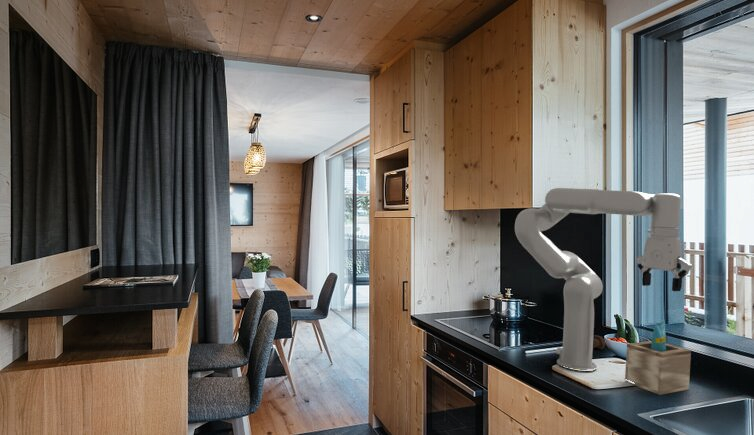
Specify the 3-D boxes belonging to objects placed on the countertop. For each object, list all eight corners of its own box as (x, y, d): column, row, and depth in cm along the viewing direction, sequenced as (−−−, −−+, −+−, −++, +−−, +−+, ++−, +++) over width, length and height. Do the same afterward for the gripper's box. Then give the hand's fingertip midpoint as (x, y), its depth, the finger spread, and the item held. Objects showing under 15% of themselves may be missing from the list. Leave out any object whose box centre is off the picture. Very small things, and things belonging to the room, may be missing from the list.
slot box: (624, 381, 152) (626, 343, 152) (653, 376, 158) (655, 340, 158) (660, 394, 142) (662, 354, 141) (688, 389, 147) (691, 350, 147)
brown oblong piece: (571, 356, 184) (597, 351, 190) (580, 353, 180) (607, 348, 186) (565, 341, 186) (591, 336, 193) (574, 337, 182) (601, 333, 189)
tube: (661, 387, 145) (665, 324, 145) (644, 383, 149) (648, 321, 148) (667, 382, 151) (671, 321, 151) (650, 377, 154) (654, 318, 154)
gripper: (630, 231, 155) (627, 283, 155) (684, 235, 139) (681, 293, 140) (646, 231, 158) (643, 283, 159) (700, 235, 143) (696, 292, 143)
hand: (660, 288), depth 149 cm, fingers open, 9 cm apart
